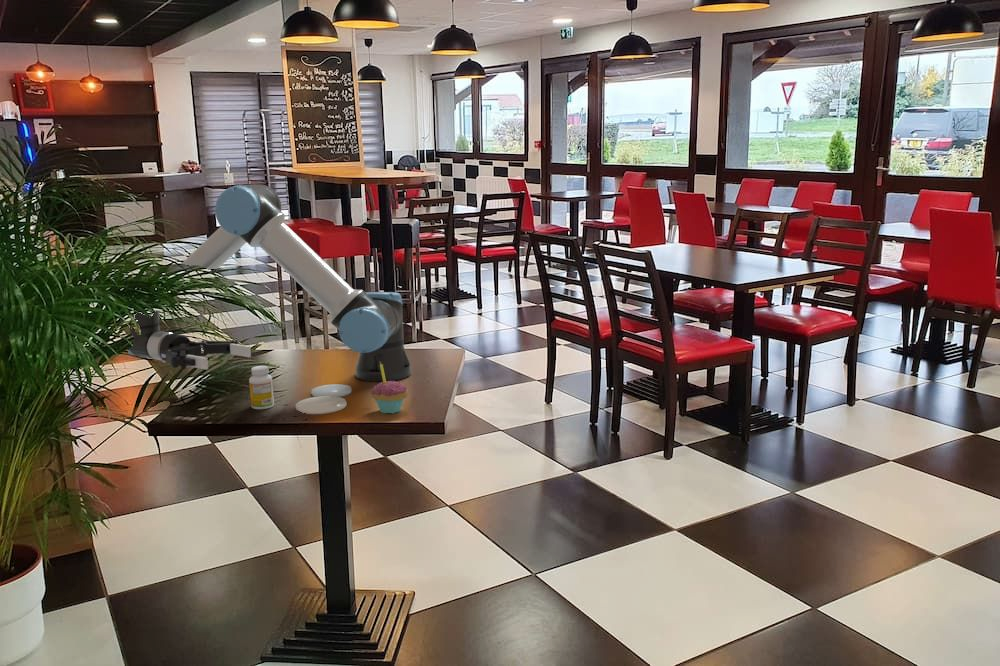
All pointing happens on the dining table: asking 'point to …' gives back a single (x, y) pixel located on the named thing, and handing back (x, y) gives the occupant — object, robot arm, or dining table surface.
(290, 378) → the dining table surface
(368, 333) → the robot arm
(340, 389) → the grey coaster
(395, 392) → the cupcake
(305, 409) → the cream coaster
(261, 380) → the supplement bottle
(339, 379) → the dining table surface
